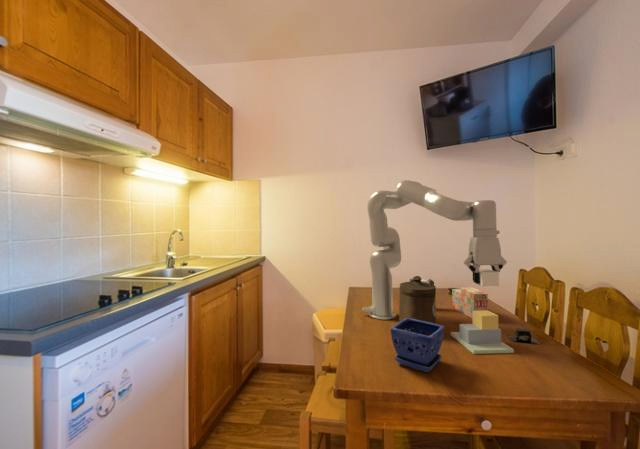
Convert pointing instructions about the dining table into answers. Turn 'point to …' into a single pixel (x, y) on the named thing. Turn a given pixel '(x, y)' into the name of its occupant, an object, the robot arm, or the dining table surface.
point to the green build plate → (483, 346)
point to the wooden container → (417, 301)
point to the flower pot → (417, 343)
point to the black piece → (523, 339)
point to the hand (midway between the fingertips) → (485, 282)
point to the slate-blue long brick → (479, 334)
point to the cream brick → (488, 278)
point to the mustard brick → (485, 320)
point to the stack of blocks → (469, 300)
